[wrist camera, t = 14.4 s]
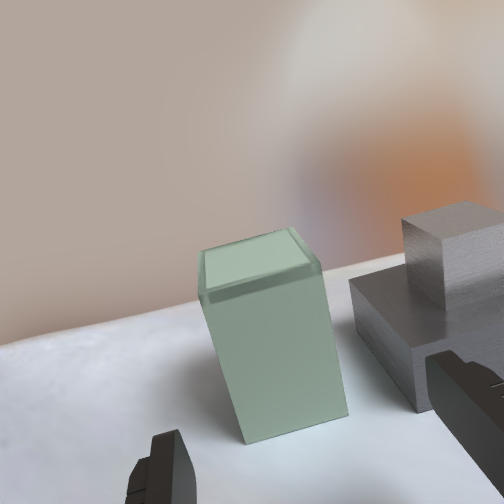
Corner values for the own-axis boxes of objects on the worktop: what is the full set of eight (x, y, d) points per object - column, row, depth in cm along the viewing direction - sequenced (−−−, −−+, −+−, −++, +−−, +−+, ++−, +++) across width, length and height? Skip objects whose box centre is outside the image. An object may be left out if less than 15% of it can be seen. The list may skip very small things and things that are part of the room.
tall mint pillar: (245, 444, 21) (198, 295, 18) (236, 376, 26) (197, 251, 23) (348, 415, 21) (320, 262, 18) (318, 353, 26) (292, 226, 23)
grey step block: (417, 413, 20) (403, 272, 17) (356, 330, 28) (339, 222, 25) (600, 358, 21) (616, 212, 18) (491, 291, 28) (490, 181, 25)
